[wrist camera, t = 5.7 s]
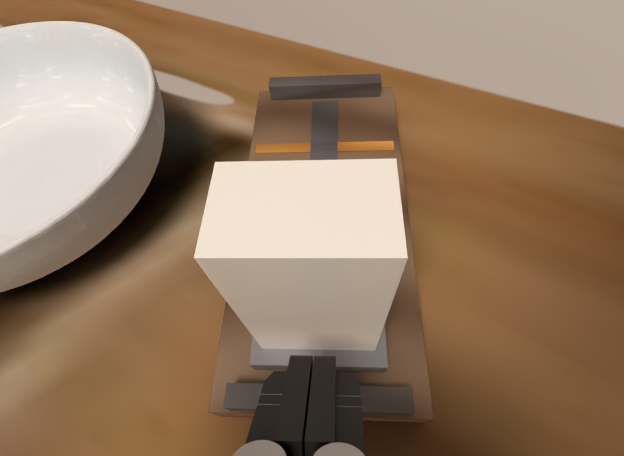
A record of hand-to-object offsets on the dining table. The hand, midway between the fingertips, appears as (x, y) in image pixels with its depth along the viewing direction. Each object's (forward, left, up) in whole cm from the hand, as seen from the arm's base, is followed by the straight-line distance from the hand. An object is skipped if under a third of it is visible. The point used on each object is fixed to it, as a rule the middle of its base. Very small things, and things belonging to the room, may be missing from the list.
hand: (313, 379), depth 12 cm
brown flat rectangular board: (-5, -9, -7) cm, 13 cm away
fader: (-2, -3, -5) cm, 6 cm away
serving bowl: (+11, -22, -8) cm, 25 cm away
